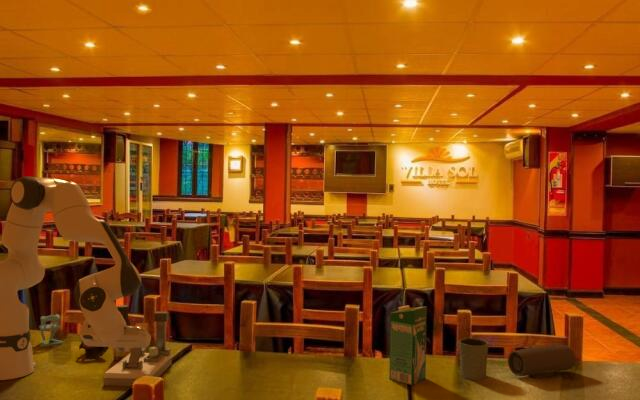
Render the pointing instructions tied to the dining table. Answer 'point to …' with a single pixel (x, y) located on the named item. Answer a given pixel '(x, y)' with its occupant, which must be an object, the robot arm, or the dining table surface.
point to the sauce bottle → (124, 312)
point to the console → (146, 367)
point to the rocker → (141, 351)
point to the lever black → (161, 331)
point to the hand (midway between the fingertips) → (123, 349)
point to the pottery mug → (92, 351)
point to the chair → (48, 327)
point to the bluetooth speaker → (541, 361)
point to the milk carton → (408, 344)
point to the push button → (153, 352)
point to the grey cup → (473, 358)
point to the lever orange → (136, 350)
